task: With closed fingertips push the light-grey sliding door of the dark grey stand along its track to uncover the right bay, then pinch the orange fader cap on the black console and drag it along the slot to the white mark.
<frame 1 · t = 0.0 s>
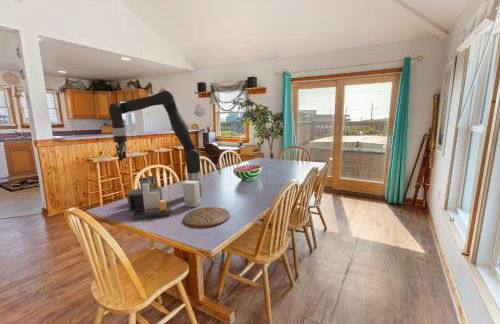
hand: (122, 159, 164), 29 cm above the table, fingers open, 8 cm apart
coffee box: (149, 200, 173), on the table
dark grey stand: (146, 209, 155), on the table
sliding door: (151, 197, 149), point 9 cm above the table, slide at 0.0 cm
skincare box: (192, 205, 160), on the table
trivet: (207, 218, 140), on the table
fader: (162, 205, 145), point 6 cm above the table, slide at -6.0 cm
console: (152, 215, 145), on the table
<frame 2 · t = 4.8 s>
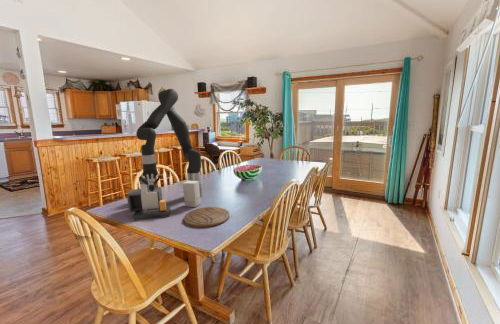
hand: (152, 190, 148), 13 cm above the table, fingers closed
sliding door: (149, 197, 149), point 9 cm above the table, slide at 1.1 cm, touching gripper
everything else where it was.
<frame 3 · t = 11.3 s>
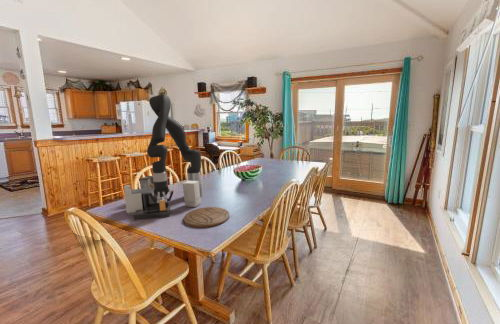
hand: (163, 208, 145), 4 cm above the table, fingers closed on fader, 3 cm apart
sliding door: (133, 198, 147), point 9 cm above the table, slide at 10.0 cm
fader: (162, 205, 145), point 6 cm above the table, slide at -6.0 cm, touching gripper
everything else where it was.
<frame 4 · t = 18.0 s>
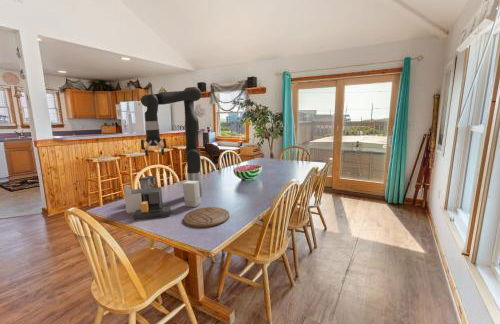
hand: (155, 155, 151), 33 cm above the table, fingers open, 8 cm apart
fader: (144, 206, 143), point 6 cm above the table, slide at 3.9 cm
everything else where it was.
at the end: fader slide at 3.9 cm; sliding door slide at 10.0 cm; the gripper is holding nothing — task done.
